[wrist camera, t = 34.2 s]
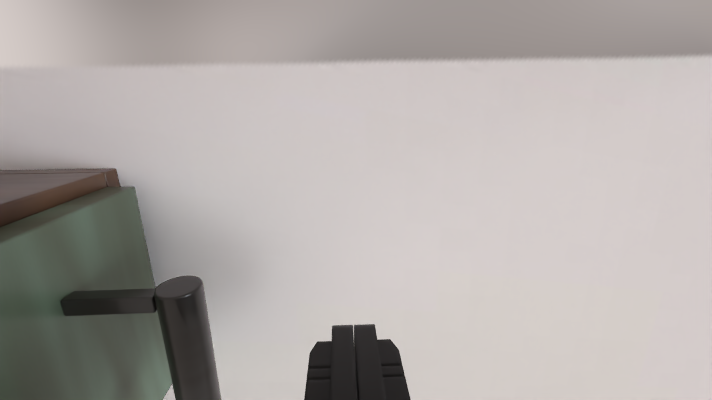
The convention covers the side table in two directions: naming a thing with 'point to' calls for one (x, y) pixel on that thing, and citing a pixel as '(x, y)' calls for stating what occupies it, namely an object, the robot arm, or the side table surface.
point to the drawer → (97, 309)
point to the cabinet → (47, 189)
